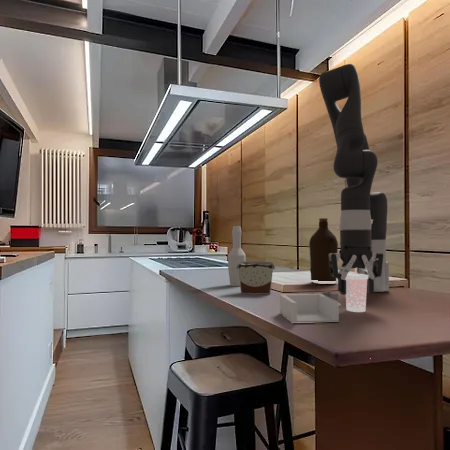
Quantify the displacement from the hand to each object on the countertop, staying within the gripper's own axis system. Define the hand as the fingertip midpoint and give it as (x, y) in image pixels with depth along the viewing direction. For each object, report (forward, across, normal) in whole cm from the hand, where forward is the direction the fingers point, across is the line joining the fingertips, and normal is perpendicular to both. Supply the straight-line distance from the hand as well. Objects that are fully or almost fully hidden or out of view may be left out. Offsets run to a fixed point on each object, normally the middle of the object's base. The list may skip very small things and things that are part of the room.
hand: (355, 293), depth 95 cm
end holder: (+4, +15, +7) cm, 17 cm away
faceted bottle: (+4, +24, -46) cm, 52 cm away
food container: (+4, +20, -30) cm, 36 cm away
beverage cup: (+4, 0, 0) cm, 4 cm away
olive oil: (+4, -10, -48) cm, 49 cm away
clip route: (+4, +8, -4) cm, 10 cm away
